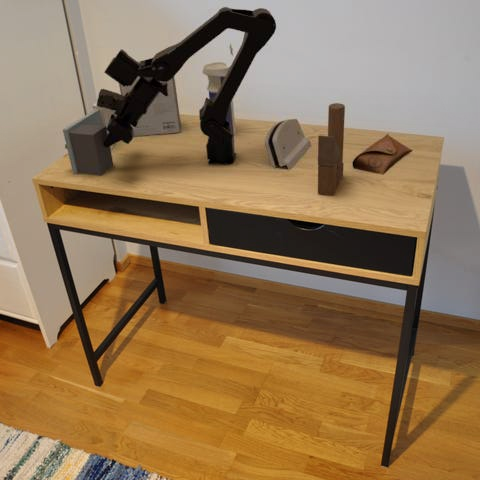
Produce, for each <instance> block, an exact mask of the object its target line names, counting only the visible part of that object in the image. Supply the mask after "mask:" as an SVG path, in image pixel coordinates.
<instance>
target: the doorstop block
mask: <svg viewBox="0 0 480 480" xmlns="http://www.w3.org/2000/svg"><path fill="white" fill-rule="evenodd" d="M69 136H70V140H71V144H72V148H73V152H74V157H75V161H76V165H77V169H78V174H83V175H84V174H85V175H91V176H100V177H102V176H103V175H104V174H106V173H107V172H108V171H110V170H111V169H112V168H113V167H114V166H115V165H114V162H113V161H114V160H113V155H112V150H111V149H110V146H109V147H105V146H104V142H105V140H106V138H107V136H108V134H107V129H106V126H97V125H85V124H82V125H81V126H79V127H77V128H76V129H74V130H73V131H71V132H69Z"/></svg>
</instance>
